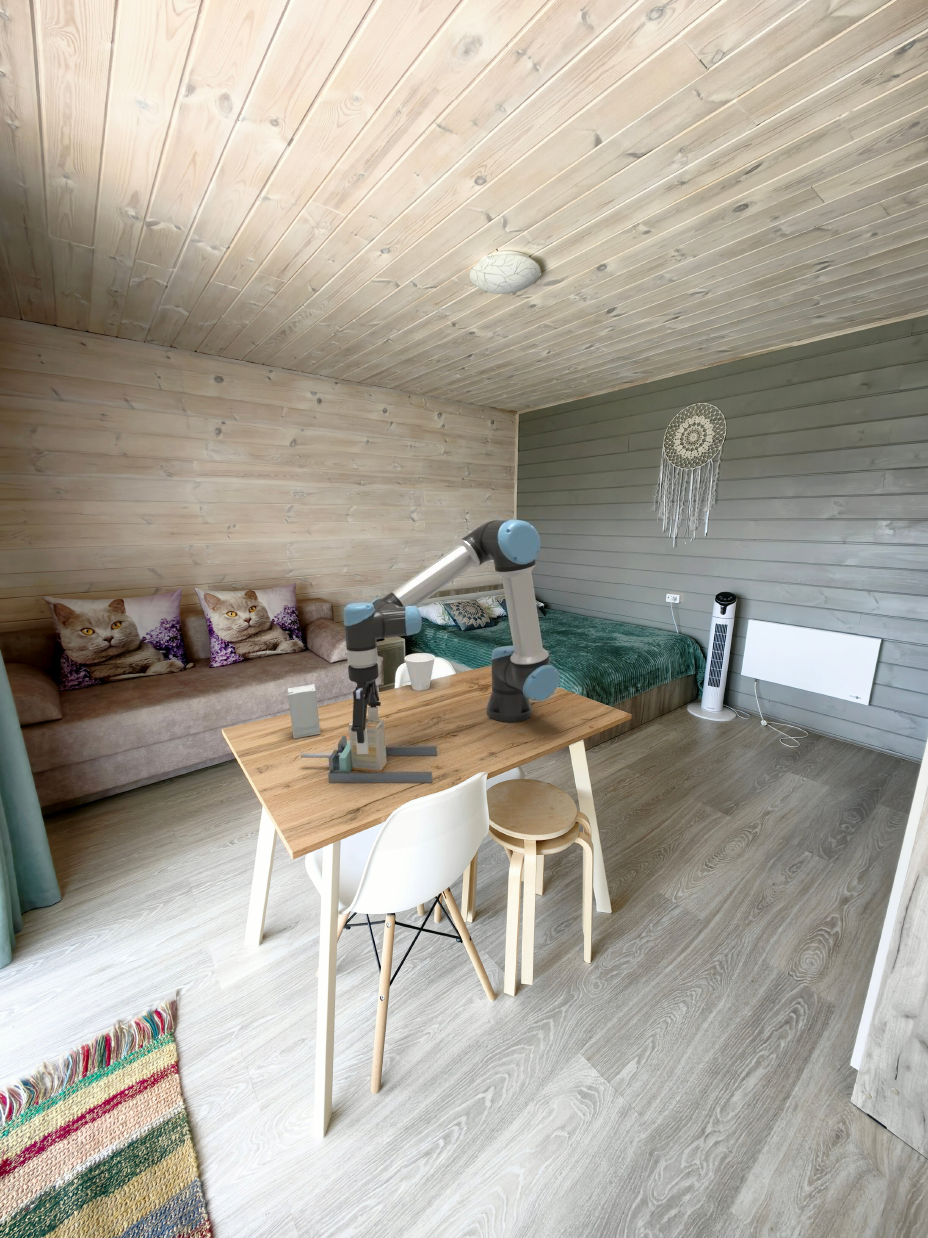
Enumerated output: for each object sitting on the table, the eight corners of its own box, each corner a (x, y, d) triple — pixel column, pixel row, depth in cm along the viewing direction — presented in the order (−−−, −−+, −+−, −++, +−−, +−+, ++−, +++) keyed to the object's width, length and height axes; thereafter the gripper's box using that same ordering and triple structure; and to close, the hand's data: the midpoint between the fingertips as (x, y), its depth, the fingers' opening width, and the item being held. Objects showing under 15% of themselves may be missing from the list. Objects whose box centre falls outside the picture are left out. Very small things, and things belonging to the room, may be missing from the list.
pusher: (358, 755, 134) (357, 736, 133) (346, 778, 122) (345, 758, 121) (310, 755, 134) (308, 736, 133) (294, 778, 122) (292, 758, 121)
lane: (437, 754, 134) (436, 734, 133) (432, 782, 120) (431, 760, 119) (345, 754, 135) (343, 734, 134) (329, 782, 121) (327, 760, 119)
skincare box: (319, 727, 153) (315, 683, 150) (320, 735, 148) (317, 689, 145) (291, 731, 150) (287, 686, 147) (292, 739, 145) (287, 693, 142)
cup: (401, 692, 183) (400, 661, 181) (410, 682, 195) (409, 652, 192) (432, 693, 181) (431, 662, 179) (438, 683, 193) (438, 653, 190)
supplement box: (387, 764, 129) (385, 719, 126) (380, 774, 124) (377, 727, 122) (359, 761, 131) (356, 716, 128) (351, 770, 126) (348, 724, 124)
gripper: (360, 650, 134) (365, 721, 139) (333, 680, 110) (341, 765, 114) (386, 650, 134) (391, 720, 138) (366, 679, 109) (372, 764, 114)
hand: (368, 741), depth 126 cm, fingers open, 13 cm apart
